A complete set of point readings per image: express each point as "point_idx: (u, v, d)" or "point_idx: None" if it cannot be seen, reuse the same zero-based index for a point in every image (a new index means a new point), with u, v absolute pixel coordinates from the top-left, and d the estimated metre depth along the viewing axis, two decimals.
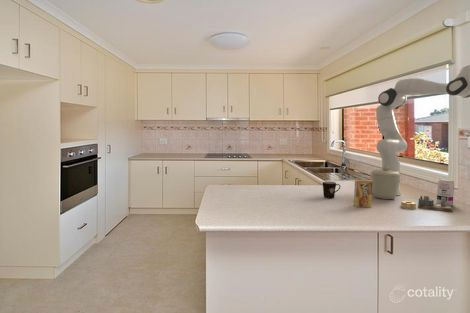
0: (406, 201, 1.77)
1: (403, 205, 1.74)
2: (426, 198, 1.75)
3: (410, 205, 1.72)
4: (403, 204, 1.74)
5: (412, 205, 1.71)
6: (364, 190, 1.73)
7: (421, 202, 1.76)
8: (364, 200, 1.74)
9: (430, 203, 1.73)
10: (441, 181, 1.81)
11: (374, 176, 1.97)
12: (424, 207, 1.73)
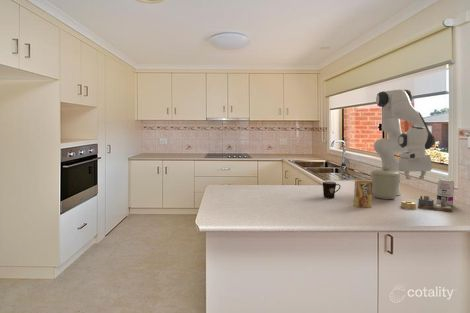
0: (406, 201, 1.77)
1: (403, 205, 1.74)
2: (426, 198, 1.75)
3: (410, 205, 1.72)
4: (403, 204, 1.74)
5: (412, 205, 1.71)
6: (364, 190, 1.73)
7: (421, 202, 1.76)
8: (364, 200, 1.74)
9: (430, 203, 1.73)
10: (441, 181, 1.81)
11: (374, 176, 1.97)
12: (424, 207, 1.73)
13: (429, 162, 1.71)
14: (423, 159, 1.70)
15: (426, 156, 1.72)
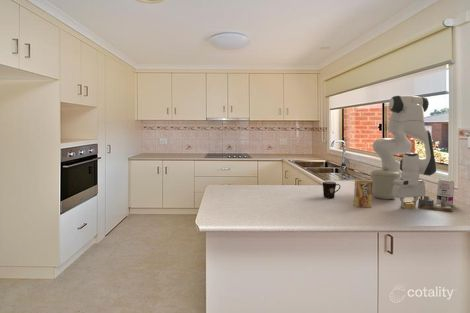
0: (406, 201, 1.77)
1: (403, 205, 1.74)
2: (426, 198, 1.75)
3: (410, 205, 1.72)
4: None
5: (412, 205, 1.71)
6: (364, 190, 1.73)
7: (421, 202, 1.76)
8: (364, 200, 1.74)
9: (430, 203, 1.73)
10: (441, 181, 1.81)
11: (374, 176, 1.97)
12: (424, 207, 1.73)
13: (423, 188, 1.74)
14: (417, 185, 1.73)
15: (420, 182, 1.75)
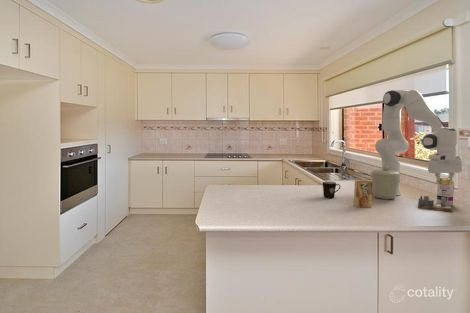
0: None
1: (439, 181, 1.70)
2: (426, 198, 1.75)
3: (447, 181, 1.68)
4: None
5: (449, 181, 1.67)
6: (364, 190, 1.73)
7: (421, 202, 1.76)
8: (364, 200, 1.74)
9: (430, 203, 1.73)
10: None
11: (374, 176, 1.97)
12: (424, 207, 1.73)
13: (459, 164, 1.70)
14: (453, 161, 1.69)
15: (456, 157, 1.71)
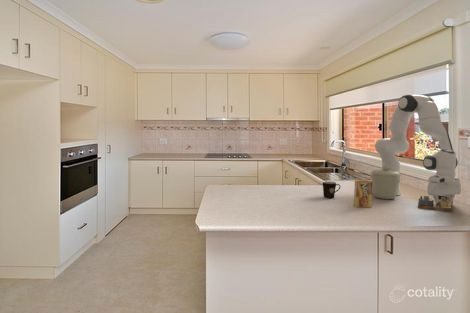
0: None
1: (438, 204, 1.72)
2: (426, 198, 1.75)
3: (446, 204, 1.69)
4: (438, 203, 1.72)
5: (448, 204, 1.69)
6: (364, 190, 1.73)
7: (421, 202, 1.76)
8: (364, 200, 1.74)
9: (430, 203, 1.73)
10: None
11: (374, 176, 1.97)
12: (424, 207, 1.73)
13: (458, 185, 1.71)
14: (452, 183, 1.70)
15: (455, 179, 1.72)
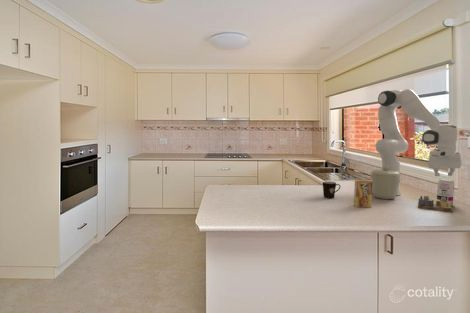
0: None
1: (438, 204, 1.72)
2: (426, 198, 1.75)
3: (446, 204, 1.69)
4: (438, 203, 1.72)
5: (448, 204, 1.69)
6: (364, 190, 1.73)
7: (421, 202, 1.76)
8: (364, 200, 1.74)
9: (430, 203, 1.73)
10: (441, 181, 1.81)
11: (374, 176, 1.97)
12: (424, 207, 1.73)
13: (459, 160, 1.76)
14: (453, 157, 1.74)
15: (456, 154, 1.76)
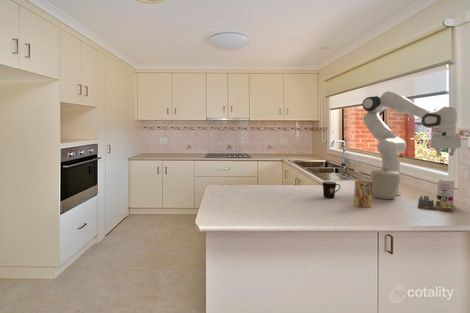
0: None
1: (438, 204, 1.72)
2: (426, 198, 1.75)
3: (446, 204, 1.69)
4: (438, 203, 1.72)
5: (448, 204, 1.69)
6: (364, 190, 1.73)
7: (421, 202, 1.76)
8: (364, 200, 1.74)
9: (430, 203, 1.73)
10: (441, 181, 1.81)
11: (374, 176, 1.97)
12: (424, 207, 1.73)
13: (459, 140, 1.87)
14: (453, 137, 1.86)
15: (456, 134, 1.88)
